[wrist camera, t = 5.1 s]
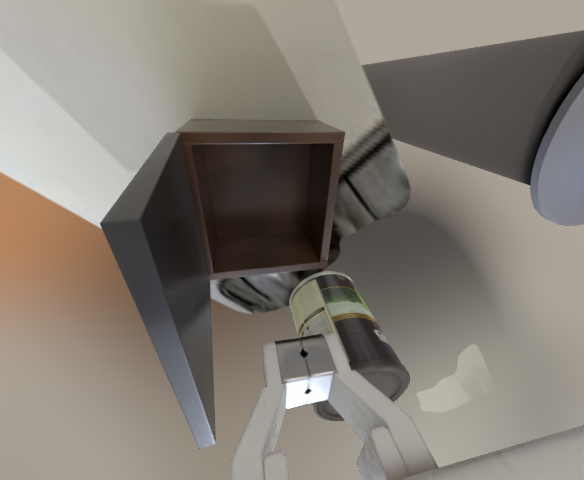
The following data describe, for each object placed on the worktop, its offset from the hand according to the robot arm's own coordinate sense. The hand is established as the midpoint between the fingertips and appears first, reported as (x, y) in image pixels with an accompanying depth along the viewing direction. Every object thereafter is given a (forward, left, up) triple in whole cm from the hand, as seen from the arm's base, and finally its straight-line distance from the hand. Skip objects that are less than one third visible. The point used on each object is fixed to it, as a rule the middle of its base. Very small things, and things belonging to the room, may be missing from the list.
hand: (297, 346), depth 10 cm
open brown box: (0, 0, -19) cm, 19 cm away
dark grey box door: (+5, 0, -6) cm, 7 cm away
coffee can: (-9, +17, -19) cm, 27 cm away
